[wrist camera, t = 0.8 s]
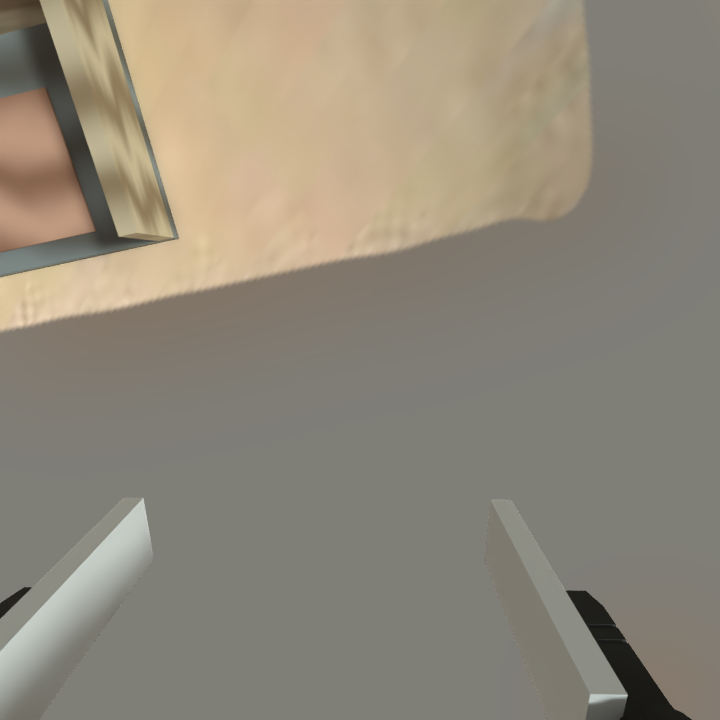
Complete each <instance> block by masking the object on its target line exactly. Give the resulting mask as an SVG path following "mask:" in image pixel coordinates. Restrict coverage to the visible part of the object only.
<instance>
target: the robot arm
mask: <svg viewBox="0 0 720 720" xmlns="http://www.w3.org/2000/svg"><path fill="white" fill-rule="evenodd" d="M153 559H154V557H153V551H152V545H151V540H150V534H149V528H148V523H147V516H146V511H145V506H144V500H143V498H123V499H122V500H121V501H120V502H119V503H118V504H117V505H116V506H115V507H114V508H113V509H112V510H111V511H110V512H109V513H108V514H107V515H106V516H105V517H104V518H103V519H102V520H100V522H98V523H97V524H96V525H95V526H94V528H92V529H91V530H90V531H89V532H88V533H87V534H86V535H85V536H84V537H83V538H82V539H81V540H80V541H79V542H78V543H77V544H76V545H75V546H74V547H73V548H72V549H71V550H70V551H69V552H68V553H67V554H66V555H65V556H64V557H63V558H62V559H61V560H60V561H59V562H58V563H57V564H56V565H55V566H54V567H53V568H52V569H51V570H50V571H49V572H48V573H47V574H46V575H45V576H44V577H43V578H42V579H41V580H39V581H38V582H37V583H36V584H35V585H34V586H33V587H31V588H30V587H28V588H27V587H26V588H25V587H24V588H23V589H21V590H19V591H18V592H16V593H15V594H14V595H12V596H10V597H9V598H7V599H6V600H4V601H3V602H1V603H0V720H39V719H40V718H41V717H42V715H43V714H44V712H45V711H46V710H47V708H48V707H49V705H50V704H51V702H52V701H53V700H54V698H55V697H56V695H57V694H58V693H59V691H60V690H61V688H62V687H63V686H64V684H65V683H66V681H67V680H68V678H69V677H70V676H71V674H72V673H73V672H74V670H75V669H76V667H77V666H78V664H79V663H80V662H81V660H82V659H83V657H84V656H85V655H86V653H87V652H88V650H89V649H90V647H91V646H92V644H93V643H94V642H95V641H96V639H97V638H98V636H99V635H100V633H101V632H102V631H103V629H104V628H105V626H106V625H107V624H108V622H109V621H110V619H111V618H112V617H113V615H114V614H115V612H116V611H117V610H118V608H119V607H120V605H121V604H122V603H123V601H124V599H125V598H126V597H127V596H128V594H129V593H130V591H131V590H132V588H133V587H134V586H135V584H136V583H137V581H138V580H139V579H140V577H141V576H142V574H143V573H144V572H145V570H146V569H147V567H148V566H149V564H150V563H151V562H152V560H153ZM485 563H486V565H487V568H488V571H489V573H490V576H491V578H492V580H493V583H494V586H495V588H496V591H497V594H498V596H499V599H500V601H501V604H502V606H503V609H504V612H505V614H506V616H507V619H508V622H509V624H510V627H511V629H512V632H513V635H514V637H515V640H516V642H517V645H518V647H519V650H520V652H521V655H522V658H523V660H524V663H525V665H526V668H527V670H528V673H529V675H530V678H531V680H532V683H533V686H534V688H535V691H536V693H537V696H538V698H539V701H540V703H541V706H542V709H543V711H544V714H545V716H546V719H547V720H691V719H690V718H689V717H687V716H686V715H685V714H683V713H681V712H679V711H677V710H675V709H674V708H673V707H672V706H671V705H670V703H669V702H668V701H667V699H666V698H665V696H664V695H663V693H662V692H661V690H660V689H659V687H658V686H657V684H656V683H655V682H654V680H653V679H652V677H651V676H650V674H649V673H648V671H647V670H646V668H645V667H644V665H643V664H642V662H641V661H640V659H639V658H638V657H637V655H636V654H635V652H634V651H633V649H632V648H631V646H630V645H629V644H628V643H627V642H626V639H625V637H624V636H623V635H622V633H621V632H620V630H619V629H618V628H616V624H615V623H614V621H613V620H612V618H611V617H610V616H609V614H608V612H607V611H606V610H605V608H604V607H603V606H602V605H601V604H600V603H599V602H598V601H597V600H595V599H594V598H593V597H592V596H591V595H590V594H589V593H588V592H586V591H565V589H564V588H563V586H562V584H561V582H560V581H559V579H558V577H557V576H556V574H555V572H554V571H553V569H552V567H551V566H550V564H549V562H548V561H547V559H546V557H545V556H544V554H543V552H542V551H541V549H540V547H539V546H538V544H537V542H536V541H535V539H534V537H533V536H532V534H531V532H530V531H529V529H528V527H527V526H526V524H525V522H524V521H523V519H522V517H521V516H520V514H519V512H518V511H517V509H516V507H515V506H514V504H513V502H512V501H511V499H504V500H503V499H491V500H490V507H489V519H488V530H487V541H486V552H485Z"/></svg>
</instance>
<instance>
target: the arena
mask: <svg viewBox="0 0 720 720" xmlns="http://www.w3.org/2000/svg"><path fill="white" fill-rule="evenodd" d="M174 239H179V237H178V234H177V231H176V227H175V224H174V220H173V217H172V214H171V210H170V207H169V204H168V200H167V197H166V194H165V190H164V187H163V184H162V180H161V177H160V174H159V170H158V167H157V164H156V160H155V157H154V154H153V150H152V147H151V144H150V140H149V137H148V134H147V130H146V127H145V124H144V120H143V117H142V113H141V110H140V107H139V103H138V100H137V97H136V93H135V90H134V87H133V83H132V80H131V77H130V73H129V70H128V67H127V63H126V60H125V57H124V53H123V50H122V47H121V43H120V40H119V37H118V33H117V30H116V27H115V23H114V20H113V16H112V13H111V10H110V6H109V3H108V0H0V277H3V276H8V275H13V274H17V273H22V272H27V271H31V270H36V269H40V268H45V267H50V266H54V265H59V264H64V263H68V262H73V261H77V260H82V259H87V258H91V257H96V256H100V255H105V254H110V253H114V252H119V251H124V250H128V249H133V248H137V247H142V246H147V245H151V244H156V243H160V242H165V241H170V240H174Z"/></svg>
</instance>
